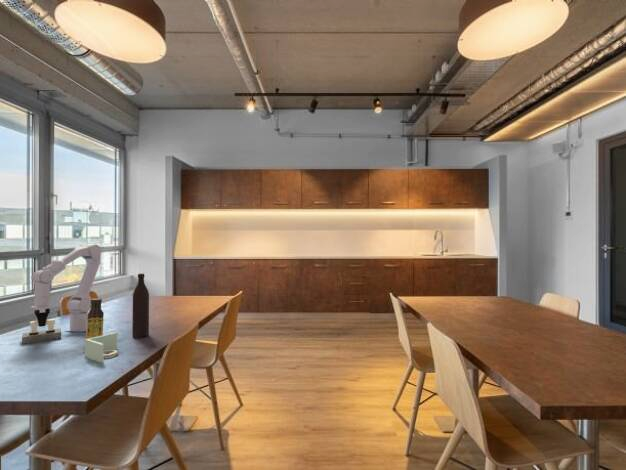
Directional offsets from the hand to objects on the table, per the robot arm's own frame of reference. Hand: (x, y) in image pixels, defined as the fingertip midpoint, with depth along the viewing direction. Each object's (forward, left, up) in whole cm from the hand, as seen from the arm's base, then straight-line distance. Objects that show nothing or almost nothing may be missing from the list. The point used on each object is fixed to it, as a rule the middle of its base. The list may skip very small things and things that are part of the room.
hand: (42, 325), depth 158 cm
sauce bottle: (-28, +6, -6) cm, 29 cm away
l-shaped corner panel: (-43, +21, -7) cm, 48 cm away
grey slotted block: (0, 0, -6) cm, 6 cm away
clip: (0, 0, -2) cm, 2 cm away
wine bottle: (-43, -5, -6) cm, 44 cm away
